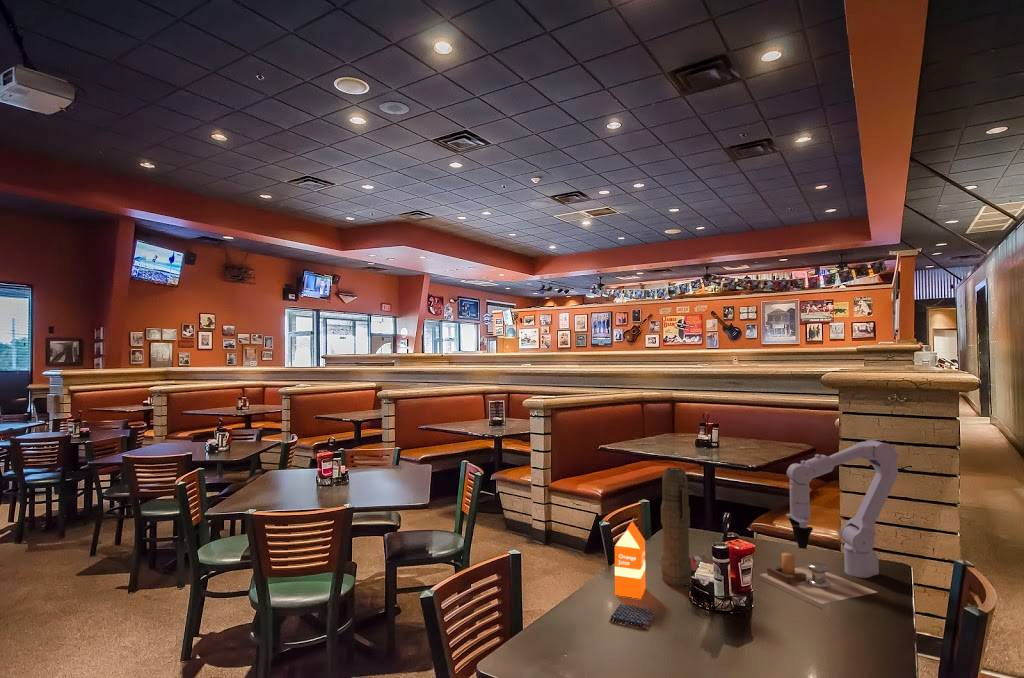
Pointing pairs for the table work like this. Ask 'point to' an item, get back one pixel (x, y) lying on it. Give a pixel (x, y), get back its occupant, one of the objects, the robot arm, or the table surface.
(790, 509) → the robot arm
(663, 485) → the thermos
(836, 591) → the jig board
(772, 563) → the table surface
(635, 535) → the orange juice
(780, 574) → the notch block
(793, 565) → the peg
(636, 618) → the woven mat
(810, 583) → the bobbin
